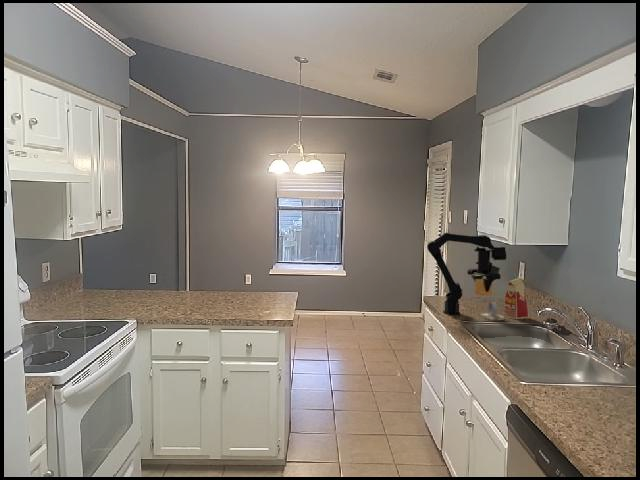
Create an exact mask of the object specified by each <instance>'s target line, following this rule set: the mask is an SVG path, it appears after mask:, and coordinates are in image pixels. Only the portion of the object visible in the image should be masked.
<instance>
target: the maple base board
mask: <svg viewBox="0 0 640 480" xmlns="http://www.w3.org/2000/svg"><path fill="white" fill-rule="evenodd" d="M480 317H481V318H484V319H487V320H490V321H493V322H494V321H501V320H503V321H505V319H506V318H505V317H506V316H504V315H501V314H497V315H496V316H490V315H489V312H485V313H480Z"/></svg>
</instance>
